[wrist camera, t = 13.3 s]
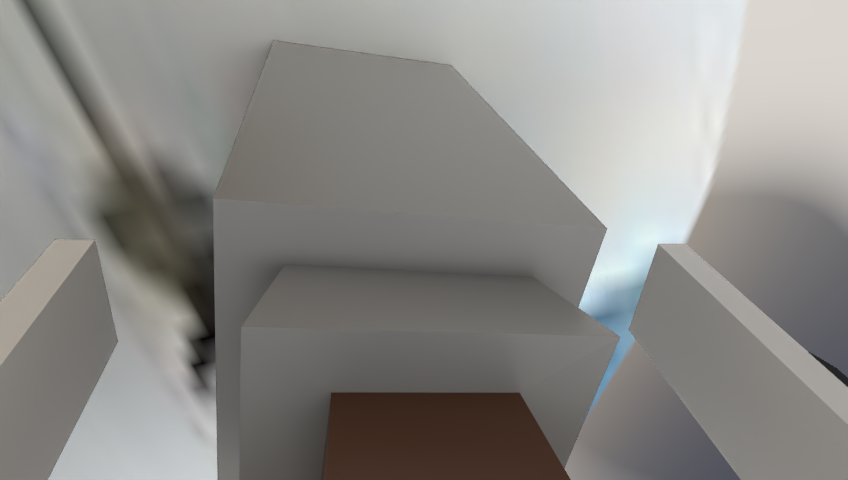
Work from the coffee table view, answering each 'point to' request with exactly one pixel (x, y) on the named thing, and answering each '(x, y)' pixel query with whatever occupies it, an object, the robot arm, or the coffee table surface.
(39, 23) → the coffee table surface
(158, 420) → the coffee table surface
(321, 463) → the perfume bottle
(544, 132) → the coffee table surface
